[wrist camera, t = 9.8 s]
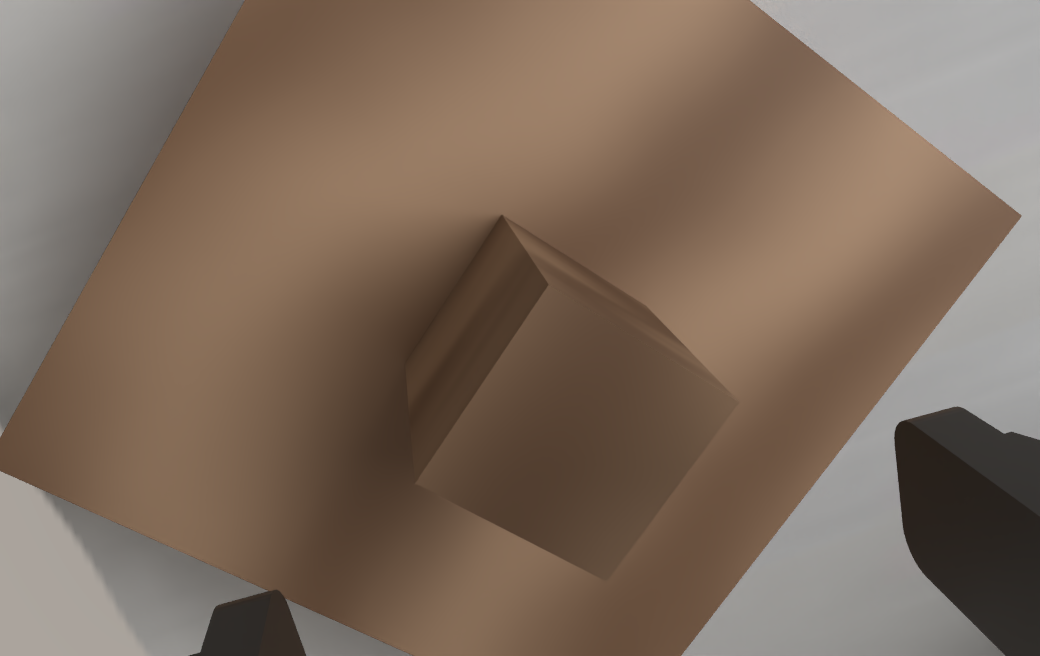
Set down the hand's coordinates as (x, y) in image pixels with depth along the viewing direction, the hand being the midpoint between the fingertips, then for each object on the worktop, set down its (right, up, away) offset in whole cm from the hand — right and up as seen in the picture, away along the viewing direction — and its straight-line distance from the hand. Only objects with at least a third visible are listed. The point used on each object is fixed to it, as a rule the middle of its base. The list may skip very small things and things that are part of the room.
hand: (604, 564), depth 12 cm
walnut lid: (-1, +3, +7) cm, 8 cm away
